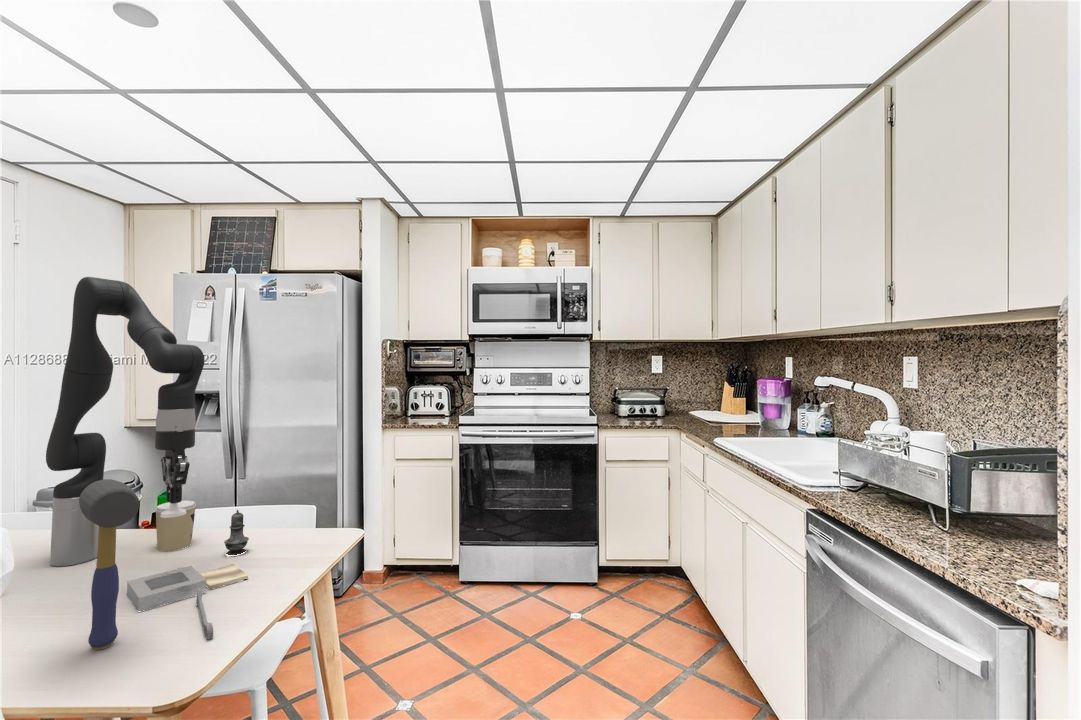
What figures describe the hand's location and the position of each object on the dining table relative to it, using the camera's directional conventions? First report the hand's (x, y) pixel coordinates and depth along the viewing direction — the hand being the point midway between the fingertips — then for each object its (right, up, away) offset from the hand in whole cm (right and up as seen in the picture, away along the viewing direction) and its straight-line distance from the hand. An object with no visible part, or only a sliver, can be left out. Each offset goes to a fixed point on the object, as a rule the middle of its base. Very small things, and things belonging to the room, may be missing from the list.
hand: (173, 501), depth 114 cm
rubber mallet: (+6, -19, -25) cm, 32 cm away
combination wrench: (+18, -20, -15) cm, 31 cm away
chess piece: (0, -3, 0) cm, 3 cm away
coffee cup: (-18, -20, +25) cm, 37 cm away
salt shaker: (+2, -21, +21) cm, 29 cm away
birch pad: (+9, -20, +4) cm, 22 cm away
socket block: (+2, -20, -4) cm, 20 cm away
